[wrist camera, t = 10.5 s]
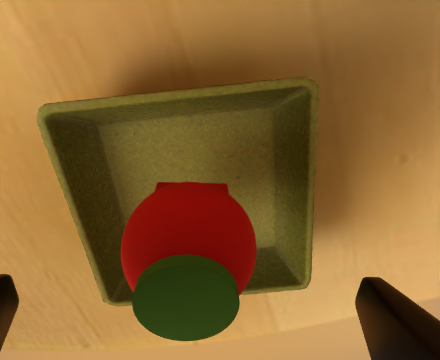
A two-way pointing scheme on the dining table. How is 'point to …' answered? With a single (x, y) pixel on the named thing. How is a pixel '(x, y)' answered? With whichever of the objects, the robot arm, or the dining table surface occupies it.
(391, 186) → the dining table surface
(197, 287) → the strawberry
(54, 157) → the green shallow tray
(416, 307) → the robot arm
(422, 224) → the dining table surface
